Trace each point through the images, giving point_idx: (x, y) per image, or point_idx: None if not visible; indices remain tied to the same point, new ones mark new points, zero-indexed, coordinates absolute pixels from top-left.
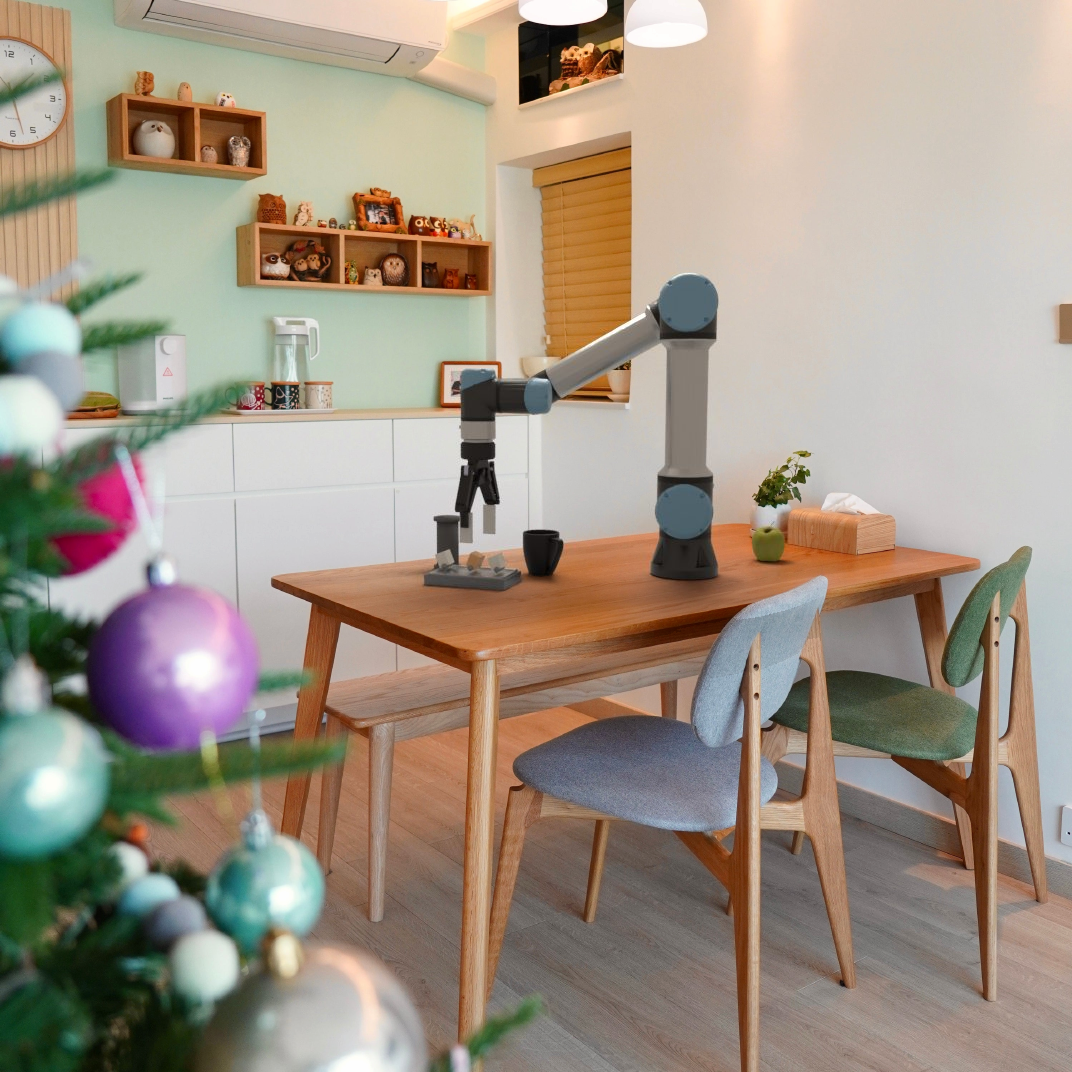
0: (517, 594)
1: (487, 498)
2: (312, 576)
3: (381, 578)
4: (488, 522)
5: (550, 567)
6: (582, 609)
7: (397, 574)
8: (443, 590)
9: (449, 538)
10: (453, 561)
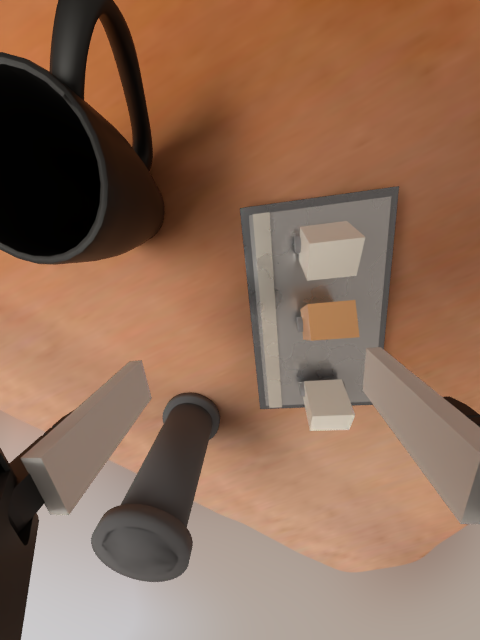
0: (423, 128)
1: (17, 550)
2: (352, 553)
3: (331, 473)
4: (122, 409)
5: (148, 144)
6: None
7: (285, 465)
8: (415, 331)
9: (189, 468)
10: (310, 383)
